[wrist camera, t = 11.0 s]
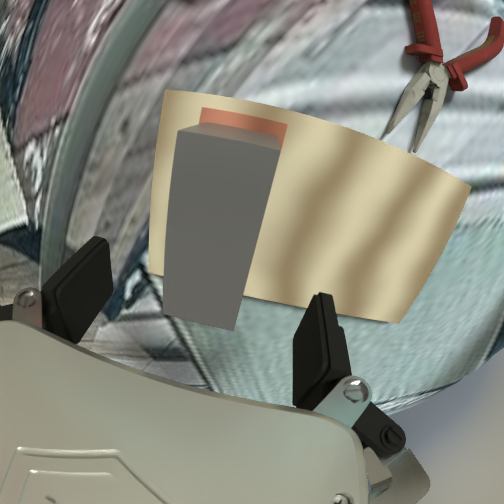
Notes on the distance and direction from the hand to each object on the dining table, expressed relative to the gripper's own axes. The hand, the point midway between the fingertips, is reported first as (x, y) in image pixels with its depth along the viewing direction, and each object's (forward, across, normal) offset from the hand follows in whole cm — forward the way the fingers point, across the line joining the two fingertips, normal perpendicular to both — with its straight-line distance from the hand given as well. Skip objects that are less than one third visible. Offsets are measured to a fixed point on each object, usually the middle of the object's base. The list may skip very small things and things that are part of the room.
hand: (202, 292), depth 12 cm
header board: (+12, -6, 0) cm, 13 cm away
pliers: (+13, -12, -20) cm, 26 cm away
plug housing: (+10, +1, 0) cm, 10 cm away
